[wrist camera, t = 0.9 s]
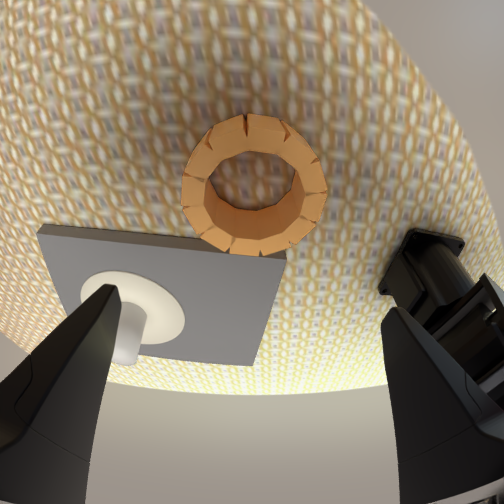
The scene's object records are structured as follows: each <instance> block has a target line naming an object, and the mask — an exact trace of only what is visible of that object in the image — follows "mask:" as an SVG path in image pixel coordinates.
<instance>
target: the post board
mask: <svg viewBox="0 0 504 504" xmlns="http://www.w3.org/2000/svg"><path fill="white" fill-rule="evenodd" d="M36 235H37V238H38V242H39V245H40V248H41V251H42V254H43V257H44V260H45V262H46V265H47V268H48V271H49V273H50V276H51V279H52V281H53V284H54V286H55V289H56V291H57V293H58V296H59V298H60V301H61V303H62V305H63V307H64V310H65V312H66V314H67V316H69V315H70V314H71V313H72V312H73V311H74V310H75V309H76V308H77V307H78V306H80V305H81V304H82V303H83V302H84V301H85V300H86V299H87V298H88V297H89V296H91V295H92V294H93V293H94V292H95V291H96V290H97V289H98V288H100V287H101V286H102V285H103V284H114V285H116V286H117V287H118V291H119V295H120V299H121V303H122V309H121V314H120V319H119V325H118V330H117V336H116V342H115V348H114V353H113V357H112V361H111V362H113V363H116V364H119V365H124V366H131V365H134V364H136V362H137V358H138V354H139V355H145V356H152V357H158V358H166V359H174V360H182V361H191V362H201V363H212V364H225V365H240V366H253V363H254V360H255V357H256V354H257V351H258V348H259V345H260V342H261V339H262V336H263V333H264V330H265V327H266V324H267V321H268V318H269V315H270V312H271V309H272V306H273V302H274V299H275V296H276V293H277V290H278V287H279V283H280V280H281V277H282V274H283V271H284V267H285V264H286V261H287V258H286V253H285V249H284V250H281V251H278V252H275V253H271V254H268V255H265V256H263V254H262V252H261V250H260V252H259V256H248V255H238V254H229V251H230V247H229V248H228V249H227V250H226V251H225V252H224V251H222V250H220V249H219V248H217V247H215V246H213V245H212V244H210V243H208V242H207V241H205V240H202V239H192V238H182V237H172V236H162V235H152V234H142V233H132V232H122V231H112V230H101V229H91V228H80V227H70V226H59V225H48V224H43V225H42V227H41V228H40V229H39V230H38V232H37V233H36Z"/></svg>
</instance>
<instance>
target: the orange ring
mask: <svg viewBox="0 0 504 504" xmlns="http://www.w3.org/2000/svg"><path fill="white" fill-rule="evenodd" d="M248 150H249V151H257V152H264V153H270V154H277V155H279V156H280V157H281V158H282V159H284V160H285V161H286V162H287V163H289V164H290V165H291V166H292V167H294V168H295V170H296V171H295V175H294V179H293V183H292V187H291V190H290V191H289V192H288V193H287V194H286V195H285V196H284V197H283V198H282V199H281V200H280V201H279V202H278V203H277V204H276V205H273V206H270V207H267V208H264V209H261V210H258V211H252V210H244V209H235V208H234V207H232V206H231V205H229V204H228V203H226V202H225V201H223V200H222V199H220V198H219V197H218V196H217V194H216V192H215V190H214V188H213V186H212V184H211V182H210V180H209V176H210V175H211V173H212V172H213V171H214V170H215V168H216V167H217V166H218V165H219V163H220V162H221V161H222V160H225V159H227V158H230V157H232V156H235V155H238V154H240V153H243V152H246V151H248ZM326 190H328V189H327V186H326V182H325V178H324V175H323V171H322V168H321V164H320V161H319V159H318V158H317V156H316V155H315V153H314V152H313V150H312V149H311V147H310V146H309V144H308V143H307V142H306V140H305V139H304V138H303V137H302V136H301V135H300V134H299V133H298V132H296V131H295V130H294V129H293V128H292V127H290V126H289V125H288V124H287V123H285V122H284V121H283V120H282V121H281V122H280V121H279V119H278V118H275V117H269V116H263V115H256V114H249V113H248V114H247V120H246V121H245V118H244V116H243V114H241V115H238V116H236V117H233V118H230V119H228V120H225V121H223V122H220V123H218V124H215V125H214V127H213V129H211V128H210V129H209V130H208V132H207V133H206V134H205V136H204V137H203V138H202V139H201V141H200V142H199V143H198V145H197V146H196V147H195V149H194V150H193V152H192V154H191V157H190V159H189V161H188V163H187V165H186V168H185V170H184V173H183V175H182V193H181V206H183V209H182V211H183V212H184V214H185V216H186V217H187V219H188V221H189V222H190V224H191V226H192V227H193V229H194V231H195V232H196V234H199V233H201V236H200V238H202V239H203V240H205V241H207V242H208V243H210V244H212V245H213V246H215V247H217V248H219V249H220V250H222V251H224V252H225V251H226V250H227V249H228V248H229V247H230V251H229V254H238V255H248V256H259V252H260V250H261V252H262V254H263V256H265V255H268V254H271V253H275V252H278V251H281V250H284V249H287V248H291V245H290V242H292V243H293V244H295V245H296V244H297V243H298V242H299V241H300V240H301V239H302V238H303V237H304V236H306V235H307V234H308V233H309V232H310V231H311V230H312V229H313V228H314V227H315V226H316V224H315V221H317V222H319V220H320V217H321V214H322V211H323V207H324V204H325V201H326V198H327V193H326Z"/></svg>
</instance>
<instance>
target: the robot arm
mask: <svg viewBox="0 0 504 504" xmlns="http://www.w3.org/2000/svg"><path fill="white" fill-rule="evenodd" d="M414 235H415V236H414ZM464 245H465V242H464V241H463V240H462V239H461V238H457V237H453V236H448V235H443V234H439V233H434V232H429V231H424V230H419V229H411V230H410V231H409V232H408V234H407V236H406V238H405V240H404V242H403V244H402V245H401V247H400V249H399V251H398V253H397V255H396V257H395V259H394V261H393V262H392V264H391V266H390V268H389V270H388V271H387V273H386V275H385V277H384V278H383V280H382V282H381V284H380V285H379V287H378V291H379V293H380V295H392V296H393V298H394V300H395V302H396V304H397V307H392V308H391V309H390V310H389V312H388V313H387V315H386V316H385V318H384V319H383V320H382V323H381V335H382V344H383V354H384V364H385V370H386V376H387V382H388V387H389V393H390V400H391V406H392V413H393V420H394V429H395V437H396V447H397V458H398V463H399V464H398V472H399V490H400V504H428V503H432V502H435V501H436V503H434V504H504V291H503V290H502V289H501V288H500V287H499V286H498V285H497V284H496V283H495V282H494V281H493V280H492V279H491V278H490V277H489V276H487V275H486V274H485V273H484V274H483V275H482V276H481V277H480V278H479V279H480V280H479V281H478V282H477V283H476V284H475V282H474V281H473V279H472V278H471V276H470V275H469V273H468V272H467V271H466V269H465V268H464V266H463V265H462V263H461V262H460V261H459V259H458V256H459V254H460V253H461V251H462V249H463V248H464ZM495 308H496V310H495V311H494V312H492V311H493V310H494V309H495ZM121 309H122V303H121V299H120V295H119V291H118V287H117V286H116V285H114V284H103V285H102V286H101V287H100V288H98V289H97V290H96V291H95V292H94V293H93V294H92V295H91V296H89V297H88V298H87V299H86V300H85V301H84V302H83V303H82V304H81V305H80V306H78V307H77V308H76V309H75V310H74V311H73V312H72V313H71V314H70V315H69V316H68V317H67V318H66V319H65V320H64V321H62V322H61V323H60V324H59V325H58V326H57V327H56V328H55V329H54V330H53V331H52V332H51V333H50V334H49V335H48V336H47V337H46V338H45V339H44V340H43V341H42V342H41V343H40V344H39V345H38V346H37V347H36V348H35V349H34V350H33V351H32V352H31V355H30V354H29V355H28V356H27V357H26V358H25V359H24V360H23V361H22V362H21V363H20V364H19V365H18V366H17V367H16V368H15V369H14V370H13V371H12V372H11V373H10V374H9V375H8V376H7V377H6V378H5V379H4V380H3V381H2V382H0V504H85V499H86V489H87V480H88V472H89V466H90V463H89V462H90V458H91V452H92V445H93V440H94V434H95V429H96V424H97V419H98V414H99V410H100V405H101V401H102V396H103V392H104V388H105V384H106V380H107V376H108V372H109V368H110V364H111V361H112V357H113V353H114V348H115V342H116V336H117V330H118V325H119V319H120V314H121Z"/></svg>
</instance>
